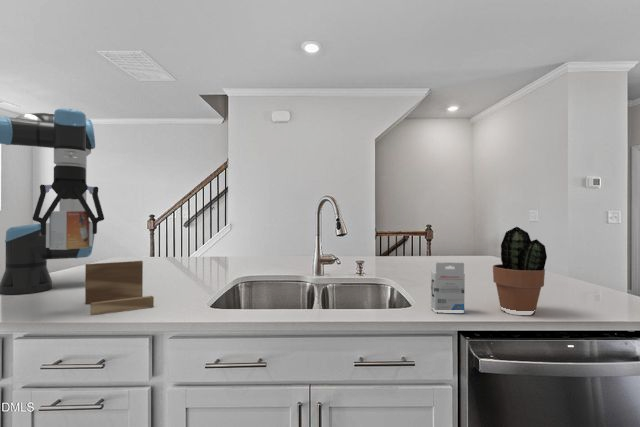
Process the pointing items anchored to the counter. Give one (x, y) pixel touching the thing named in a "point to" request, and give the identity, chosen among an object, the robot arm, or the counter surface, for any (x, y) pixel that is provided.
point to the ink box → (448, 287)
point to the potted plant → (520, 271)
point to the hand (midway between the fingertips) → (69, 246)
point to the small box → (68, 230)
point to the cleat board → (115, 287)
